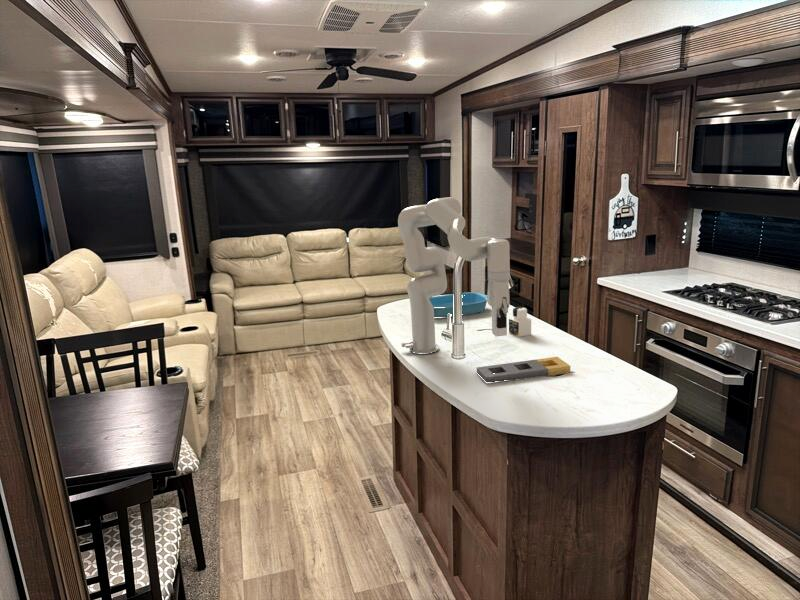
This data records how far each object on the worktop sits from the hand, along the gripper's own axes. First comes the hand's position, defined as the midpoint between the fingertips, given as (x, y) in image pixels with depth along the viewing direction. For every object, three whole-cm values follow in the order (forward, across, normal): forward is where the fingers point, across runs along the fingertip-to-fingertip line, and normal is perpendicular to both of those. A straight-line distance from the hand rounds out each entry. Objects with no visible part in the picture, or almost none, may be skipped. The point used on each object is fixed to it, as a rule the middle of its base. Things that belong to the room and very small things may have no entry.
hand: (499, 325), depth 193 cm
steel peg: (+3, 0, 0) cm, 3 cm away
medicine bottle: (+20, -42, +25) cm, 53 cm away
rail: (+19, 0, +9) cm, 21 cm away
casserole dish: (+20, -87, +8) cm, 90 cm away
